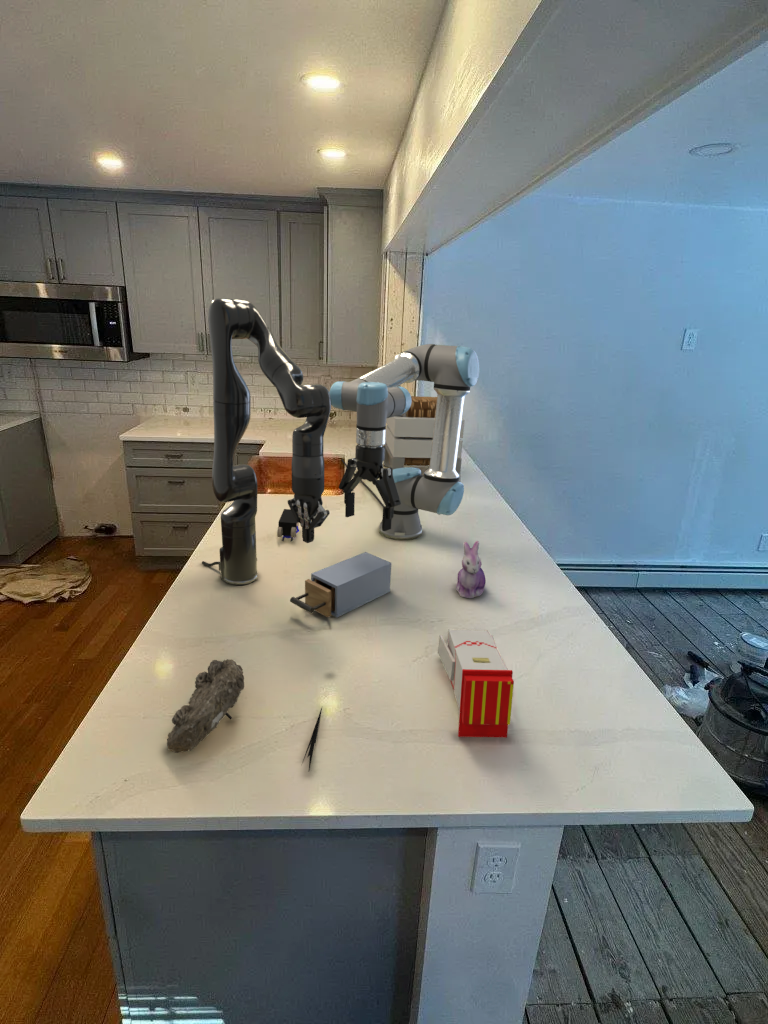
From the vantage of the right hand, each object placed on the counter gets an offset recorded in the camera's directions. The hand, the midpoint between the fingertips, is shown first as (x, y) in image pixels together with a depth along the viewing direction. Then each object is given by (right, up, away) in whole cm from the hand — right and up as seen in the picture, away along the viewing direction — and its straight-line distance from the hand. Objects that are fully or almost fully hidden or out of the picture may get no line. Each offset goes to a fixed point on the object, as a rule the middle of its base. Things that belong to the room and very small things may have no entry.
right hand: (367, 522), depth 152 cm
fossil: (-28, -36, -43) cm, 63 cm away
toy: (+22, -35, -33) cm, 53 cm away
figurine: (+29, -20, +9) cm, 36 cm away
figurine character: (-28, -5, +42) cm, 51 cm away
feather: (-8, -37, -43) cm, 57 cm away
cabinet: (-4, -20, +3) cm, 21 cm away
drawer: (-8, -21, -1) cm, 23 cm away
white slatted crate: (+22, +22, +123) cm, 127 cm away
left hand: (-14, -4, -15) cm, 21 cm away
